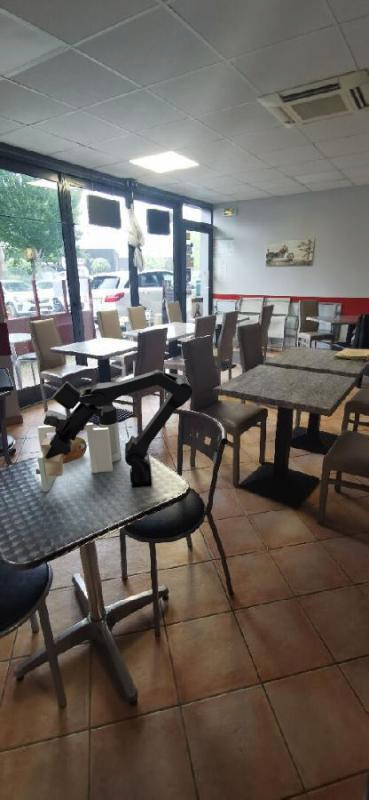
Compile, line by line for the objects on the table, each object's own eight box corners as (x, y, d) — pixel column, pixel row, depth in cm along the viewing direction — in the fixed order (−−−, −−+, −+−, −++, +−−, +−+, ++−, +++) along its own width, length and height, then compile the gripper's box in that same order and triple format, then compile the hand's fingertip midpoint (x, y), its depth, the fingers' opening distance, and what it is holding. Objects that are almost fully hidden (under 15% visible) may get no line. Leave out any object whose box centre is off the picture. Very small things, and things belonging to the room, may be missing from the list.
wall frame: (112, 468, 142) (107, 421, 136) (112, 471, 140) (106, 424, 134) (47, 472, 141) (39, 425, 135) (45, 476, 139) (37, 428, 133)
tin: (51, 468, 144) (47, 447, 141) (47, 466, 146) (44, 445, 143) (88, 455, 153) (85, 435, 150) (84, 452, 155) (81, 432, 153)
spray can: (125, 456, 150) (120, 407, 144) (113, 464, 145) (107, 413, 139) (111, 453, 154) (106, 404, 147) (99, 460, 148) (93, 410, 142)
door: (47, 491, 128) (42, 457, 124) (38, 491, 128) (32, 458, 124) (57, 472, 139) (52, 441, 136) (48, 473, 139) (43, 442, 135)
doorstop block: (63, 468, 129) (59, 437, 125) (61, 475, 124) (56, 443, 121) (49, 469, 128) (44, 438, 125) (46, 477, 124) (41, 445, 120)
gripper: (62, 393, 128) (32, 427, 130) (52, 412, 110) (18, 452, 113) (89, 413, 131) (60, 447, 134) (84, 436, 114) (50, 474, 116)
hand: (47, 454), depth 124 cm, fingers closed on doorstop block, 5 cm apart
